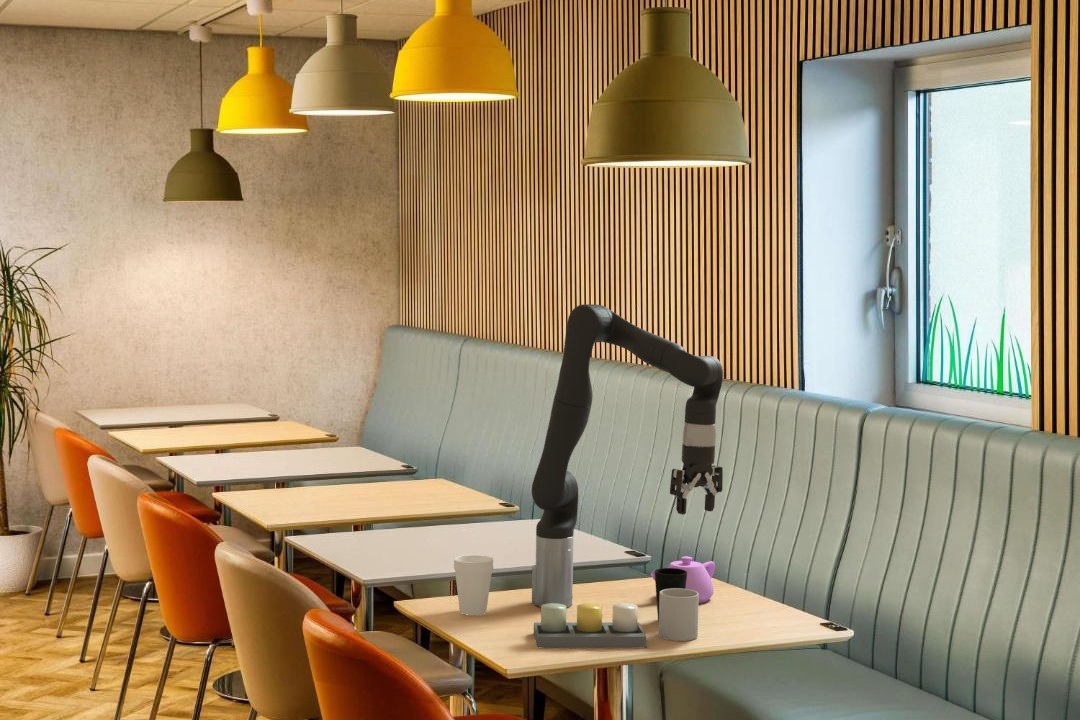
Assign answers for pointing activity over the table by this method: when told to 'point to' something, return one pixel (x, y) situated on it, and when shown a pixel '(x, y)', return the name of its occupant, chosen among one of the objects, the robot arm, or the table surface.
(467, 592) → the foam cup
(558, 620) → the sage button
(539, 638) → the grey compartment tray
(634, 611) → the offwhite button
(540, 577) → the robot arm
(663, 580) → the cup
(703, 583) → the teapot
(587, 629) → the mustard button
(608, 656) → the table surface
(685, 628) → the mug
